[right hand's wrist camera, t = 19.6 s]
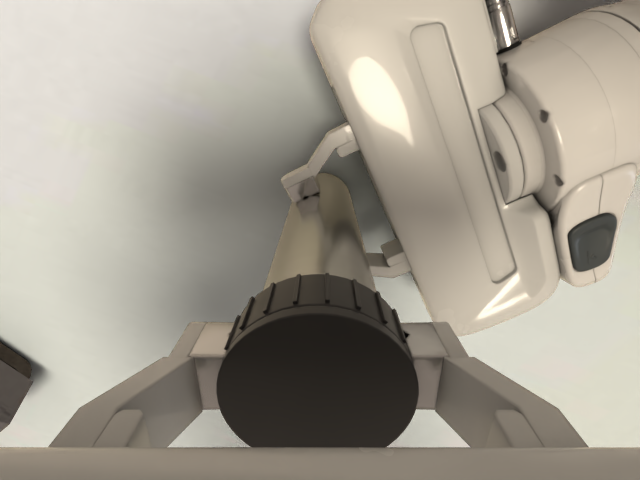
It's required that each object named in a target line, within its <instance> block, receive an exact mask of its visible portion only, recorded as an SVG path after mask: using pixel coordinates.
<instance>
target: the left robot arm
mask: <svg viewBox="0 0 640 480" xmlns="http://www.w3.org/2000/svg"><path fill="white" fill-rule="evenodd" d="M309 33H310V38H311V41H312V44H313V46H314V48H315V51H316V53H317V55H318V58H319V60H320V62H321V65H322V67H323V69H324V72H325V74H326V76H327V79H328V81H329V83H330V86H331V88H332V90H333V93H334V95H335V97H336V100H337V102H338V104H339V107H340V109H341V111H342V114H343V116H344V118H345V121H346V123H344V124H342V125H340V126H338V127H336V128H334V129H332V130H330V131H328V132H327V133H326V135H325V136H324V138H323V140H322V141H321V143H320V144H319V146H318V147H317V149H316V150H315V152H314V153H313V155H312V156H311V158H310V159H309V162H308V163H307V164H305V165H303V166H301V167H299V168H297V169H295V170H293V171H291V172H289V173H287V174H286V175H284V176H283V177H282V178H281V180H280V181H281V183H282V185H283V187H284V188H285V190H286V192H287V194H288V196H289V197H290V199H291V201H292V203H296V202H299V201H301V200H302V199H303V198H304V196H311V195H314V194H316V193H318V192H320V184H319V181H318V179H317V177H316V175H317V174H318V172H319V171H320V170H321V168H322V167H323V165H324V164H325V162H326V161H327V159H328V158H329V157H330V155H331V154H332V152H333V151H334V149H336V151H337V153H338V155H339V157H341V158H342V157H345V156H347V155H349V154H351V153H353V152H355V151H357V150H358V151H359V153H360V156H361V158H362V160H363V163H364V165H365V167H366V170H367V172H368V174H369V176H370V179H371V181H372V183H373V186H374V188H375V190H376V193H377V195H378V197H379V200H380V202H381V204H382V207H383V209H384V211H385V214H386V216H387V218H388V221H389V223H390V225H391V228H392V230H393V232H394V235H395V237H396V239H394V240H392V241H390V242H388V243H385V244H383V245H381V249H382V252H383V254H380V253H366V255H367V259H368V262H369V266H370V270H371V273H372V276H378V277H389V278H395V277H397V276H400V275H402V274H405V273H407V272H409V271H410V272H411V274H412V277H413V279H414V281H415V284H416V286H417V288H418V291H419V293H420V295H421V297H422V300H423V302H424V304H425V307H426V309H427V311H428V313H429V315H430V317H431V319H432V321H433V322H447V323H449V325H450V326H451V328H452V329H453V331H454V333H455V334H456V336H465V335H469V334H473V333H475V332H478V331H481V330H484V329H487V328H489V327H492V326H495V325H497V324H500V323H502V322H505V321H507V320H509V319H512V318H514V317H516V316H518V315H521V314H523V313H525V312H527V311H529V310H531V309H533V308H535V307H537V306H539V305H540V304H542V303H543V302H544V301H546V300H547V299H548V298H549V297H550V296H551V295H552V294H553V293H554V291H555V290H556V288H557V286H558V283H559V279H562V280H564V281H566V282H567V283H569V284H571V285H572V286H575V287H583V286H587V285H590V284H593V283H595V282H598V281H600V280H601V279H603V278H604V277H606V276H607V274H608V273H609V271H610V269H611V266H612V262H613V257H614V252H615V247H616V242H617V237H618V233H619V229H620V225H621V222H622V218H623V215H624V211H625V208H626V206H627V203H628V200H629V198H630V195H631V193H632V190H633V188H634V185H635V182H636V178H637V175H639V174H640V0H622V1H620V2H617V3H614V4H609V5H603V6H598V7H594V8H591V9H588V10H585V11H583V12H580V13H578V14H576V15H574V16H572V17H570V18H568V19H566V20H564V21H562V22H560V23H558V24H556V25H554V26H552V27H550V28H548V29H546V30H544V31H542V32H540V33H538V34H536V35H534V36H532V37H530V38H528V39H526V40H524V41H520V42H519V38H518V33H517V29H516V25H515V21H514V16H513V12H512V9H511V5H510V3H509V0H321V1H320V2H319V4H318V5H317V7H316V9H315V12H314V14H313V17H312V20H311V23H310V27H309Z"/></svg>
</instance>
